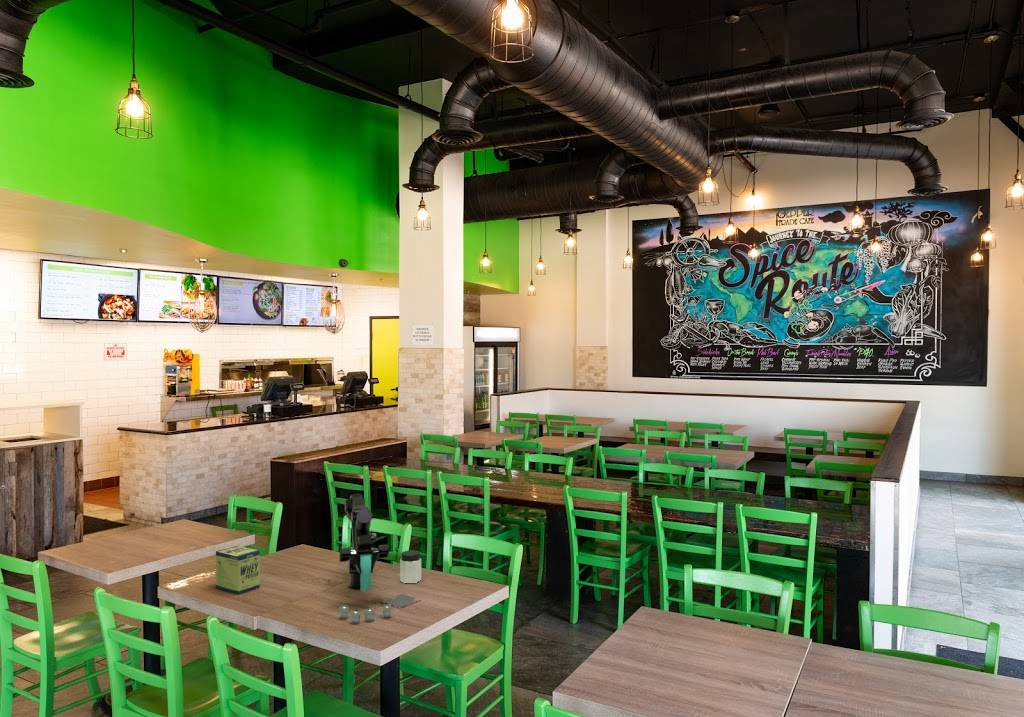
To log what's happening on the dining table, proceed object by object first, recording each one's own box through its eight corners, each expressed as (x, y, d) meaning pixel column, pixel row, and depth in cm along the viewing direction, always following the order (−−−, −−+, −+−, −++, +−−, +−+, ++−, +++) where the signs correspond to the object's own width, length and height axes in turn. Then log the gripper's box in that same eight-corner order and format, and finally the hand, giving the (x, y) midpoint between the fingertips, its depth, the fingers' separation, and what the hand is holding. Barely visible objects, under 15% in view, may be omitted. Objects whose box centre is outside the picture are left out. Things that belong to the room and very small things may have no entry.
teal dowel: (358, 589, 267) (358, 555, 267) (366, 586, 270) (366, 553, 270) (365, 591, 265) (365, 557, 265) (373, 588, 268) (373, 555, 268)
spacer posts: (336, 618, 256) (336, 607, 256) (365, 607, 267) (365, 597, 267) (364, 628, 247) (364, 616, 247) (393, 616, 258) (393, 605, 258)
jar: (424, 581, 298) (424, 553, 298) (408, 585, 293) (407, 556, 293) (413, 576, 305) (413, 548, 305) (397, 580, 299) (396, 552, 299)
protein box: (239, 595, 282) (239, 556, 282) (214, 588, 290) (214, 550, 290) (260, 587, 291) (260, 550, 291) (236, 581, 299) (236, 545, 299)
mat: (380, 602, 272) (380, 601, 272) (401, 594, 281) (401, 593, 281) (400, 608, 266) (400, 607, 266) (421, 600, 275) (421, 599, 275)
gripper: (339, 527, 268) (342, 565, 258) (388, 523, 274) (393, 560, 264) (338, 542, 276) (340, 579, 265) (385, 538, 282) (390, 574, 271)
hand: (366, 573), depth 266 cm, fingers closed on teal dowel, 4 cm apart
